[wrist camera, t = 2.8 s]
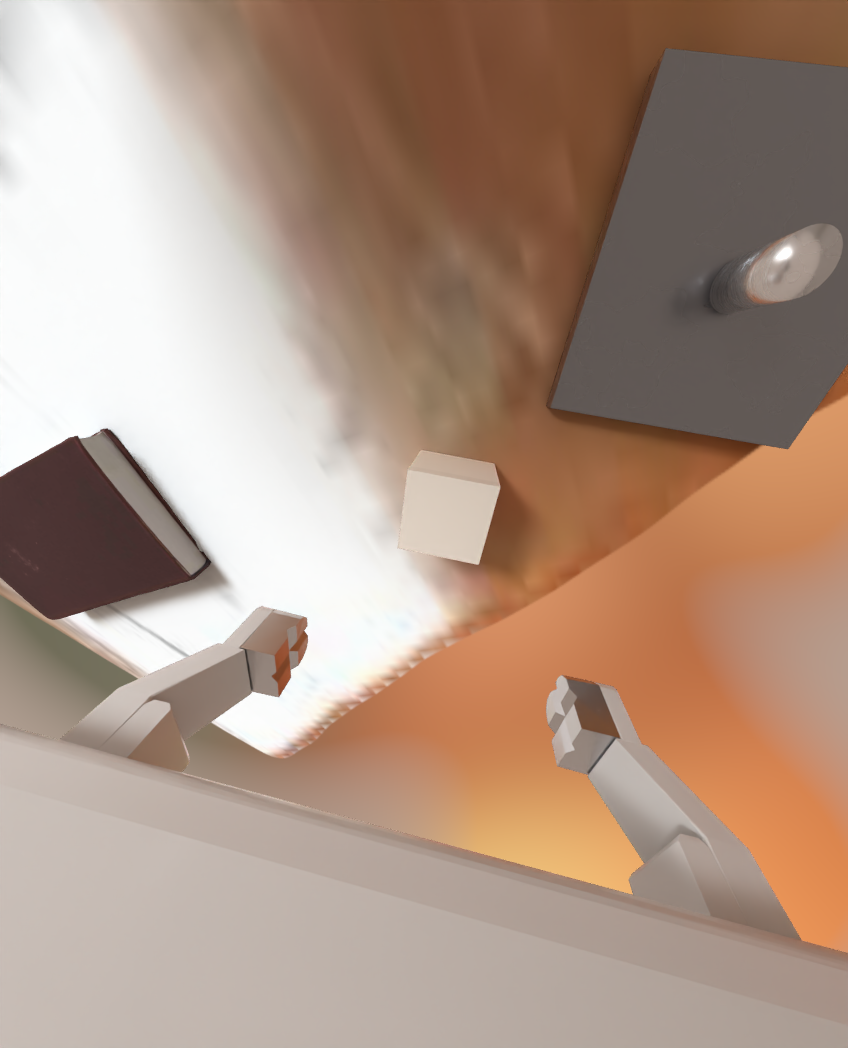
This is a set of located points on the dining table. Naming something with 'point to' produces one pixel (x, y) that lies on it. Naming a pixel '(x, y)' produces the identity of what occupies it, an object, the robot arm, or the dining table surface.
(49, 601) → the book
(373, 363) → the dining table surface
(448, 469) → the cream rectangular prism
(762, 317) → the post plate
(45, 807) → the robot arm
